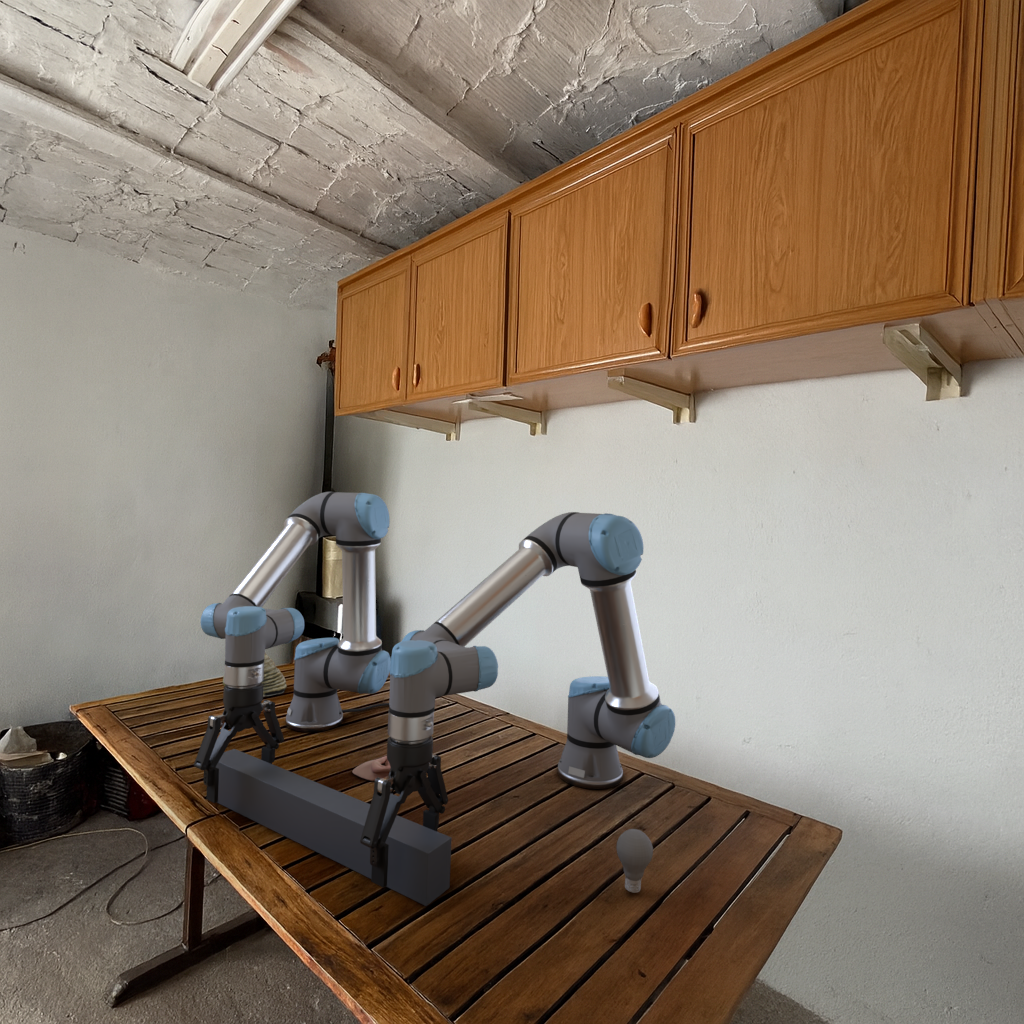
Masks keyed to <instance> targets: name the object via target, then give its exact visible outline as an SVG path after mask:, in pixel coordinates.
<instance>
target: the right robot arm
mask: <svg viewBox="0 0 1024 1024" xmlns="http://www.w3.org/2000/svg"><path fill="white" fill-rule="evenodd" d="M644 547H645V546H644V541H643V536H642V534H641V531H640V529H639V528H638V527H637V525H636V524H635V523H634V522H633V521H632V520H630V519H629V518H627V517H625V516H624V515H623V516H622V515H617V514H614V513H607V512H606V513H596V512H595V513H591V512H578V511H570V512H564V513H561V514H558V515H555V516H554V517H552V518H551V519H549V520H547V521H546V522H544V523H542V524H541V525H539V526H538V527H537V528H535V529H534V530H533V531H531V532H530V533H529V534H528V535H527V536H525V537H524V538H523V539H522V540H521V541H520V542H519V543H518V550H517V551H515V553H513V554H512V555H511V556H509V557H508V558H507V559H506V560H505V561H504V562H503V563H501V565H499V566H498V567H497V568H496V569H495V570H493V571H492V572H491V573H489V574H488V576H487V577H485V578H484V579H483V580H482V581H481V582H480V583H478V584H477V585H476V586H475V587H474V588H473V589H471V590H470V591H469V592H468V593H467V594H466V595H464V596H463V597H462V598H461V599H460V600H459V601H458V602H456V603H455V604H454V605H453V606H452V607H451V608H450V609H448V610H447V611H445V613H443V615H442V616H441V617H439V618H438V619H437V620H436V621H434V622H433V623H432V624H431V625H430V626H429V627H428V628H426V629H425V630H424V629H423V630H421V629H418V630H417V629H416V630H412V631H410V632H408V633H406V635H405V636H404V637H403V638H402V640H401V641H400V642H398V643H396V644H394V646H393V647H392V650H391V656H390V658H391V664H390V670H389V698H388V699H389V700H388V703H389V705H390V706H388V718H387V735H388V738H387V743H386V756H387V760H388V761H389V764H390V767H391V768H390V772H389V775H388V777H386V778H383V779H382V778H379V777H377V778H376V779H375V781H374V782H373V794H372V797H371V801H370V803H369V804H370V808H369V811H368V815H367V818H366V822H365V825H364V829H363V832H362V836H361V839H360V843H361V844H363V845H365V846H367V847H370V864H371V865H372V874H371V879H370V881H371V883H373V884H375V885H378V886H379V887H381V888H383V889H384V888H386V886H387V872H388V848H389V845H388V844H386V843H385V842H386V839H387V837H388V835H389V832H390V830H391V828H392V825H393V823H394V820H395V818H396V816H397V815H398V813H399V811H400V808H401V806H402V805H403V804H405V803H406V800H407V798H408V797H409V796H410V795H411V794H413V793H415V792H417V794H418V795H419V797H420V798H421V800H422V801H423V803H424V805H425V807H426V808H427V809H425V810H423V812H422V813H423V814H422V826H425V827H427V828H429V829H432V830H434V831H437V832H438V830H439V826H440V814H441V815H443V814H445V811H446V807H445V806H443V805H448V803H449V797H448V792H447V789H446V785H445V784H446V783H445V779H444V776H443V772H442V768H441V767H442V757H441V756H440V755H437V754H434V737H433V736H432V735H434V725H435V724H434V722H435V721H434V720H435V709H436V707H435V706H436V698H441V697H446V696H453V695H458V694H465V693H470V692H479V691H481V690H485V689H488V688H491V687H492V686H494V684H495V683H496V681H497V679H498V675H499V663H498V659H497V656H496V654H495V652H494V651H493V650H492V648H490V647H489V646H486V645H480V646H479V645H478V646H477V645H473V646H468V647H467V645H468V644H469V643H471V642H472V641H473V640H474V639H475V638H476V637H477V636H478V635H479V634H481V632H483V631H484V630H485V629H486V628H487V627H488V626H489V625H490V624H492V623H493V621H495V620H496V619H497V618H498V617H499V616H500V615H501V614H502V613H503V612H505V611H506V610H507V609H508V608H509V607H510V606H511V605H512V604H513V603H515V602H516V601H517V600H518V599H519V598H521V596H523V594H524V593H525V592H526V591H527V590H529V589H530V588H531V587H532V586H533V585H534V584H535V583H536V582H538V581H539V580H540V579H541V578H542V577H549V576H551V575H552V574H553V573H554V572H555V571H557V570H558V569H561V568H563V567H574V568H577V570H578V575H579V579H580V583H581V585H582V586H583V587H585V588H586V589H589V592H590V598H591V602H592V607H593V612H594V616H595V622H596V626H597V627H596V628H597V632H598V636H599V637H598V638H599V641H600V646H601V650H602V651H601V652H602V655H603V659H604V666H605V670H606V676H601V675H593V676H591V675H589V676H582V677H577V678H574V679H573V680H572V681H571V682H570V683H569V691H568V695H567V724H566V727H567V730H566V732H567V733H566V742H565V744H564V747H563V749H562V753H561V756H560V758H559V759H558V763H557V775H558V777H559V778H560V779H561V780H563V782H566V783H567V784H568V785H572V786H574V787H577V788H583V789H589V790H607V789H611V788H615V787H617V786H618V785H620V784H621V783H622V781H623V775H624V770H623V769H624V768H623V766H622V764H621V762H620V761H621V760H620V755H619V752H618V747H619V748H621V749H623V750H625V751H627V752H629V753H631V754H633V755H635V756H640V757H643V758H646V759H653V758H657V757H658V756H659V755H661V754H662V753H663V752H664V751H665V750H666V749H667V748H668V746H669V745H670V743H671V740H672V739H673V738H674V737H673V736H674V734H675V728H676V716H675V712H674V710H673V709H672V708H670V707H669V706H668V705H667V704H662V702H661V697H660V692H659V691H660V690H659V688H658V687H657V685H656V684H654V683H653V682H651V681H650V678H649V672H648V666H647V661H646V657H645V656H646V655H645V650H644V645H643V641H642V635H641V630H640V629H641V628H640V625H639V620H638V619H639V618H638V614H637V609H636V604H635V598H634V592H633V588H632V581H633V580H634V579H635V577H636V575H637V569H638V568H639V566H640V564H641V563H642V560H643V559H642V556H644ZM394 792H395V793H396V794H398V795H396V794H394ZM379 835H380V838H379Z"/></svg>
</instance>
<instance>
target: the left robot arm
mask: <svg viewBox="0 0 1024 1024" xmlns="http://www.w3.org/2000/svg"><path fill="white" fill-rule="evenodd" d="M390 522H391V521H390V513H389V509H388V506H387V504H386V502H385V500H384V499H383V498H382V497H381V496H379V495H377V494H375V493H374V494H373V493H367V492H343V491H342V492H341V491H339V492H338V491H337V492H336V491H325V492H320V493H318V494H315V495H314V496H311V497H310V498H308V499H307V500H305V501H304V502H302V503H301V504H300V505H298V506H297V507H296V508H295V509H294V510H293V511H292V512H291V513H290V514H289V515H288V516H287V517H286V519H285V520H284V522H283V529H282V530H281V531H280V533H279V534H278V535H277V536H276V538H275V539H274V540H273V541H272V542H271V544H270V545H269V546H268V547H267V549H266V550H265V551H264V552H263V554H261V556H260V557H259V558H258V560H257V561H256V562H255V563H254V565H252V567H251V568H250V569H249V571H248V572H247V573H246V574H245V575H244V577H243V578H242V579H241V581H240V582H239V583H238V584H237V585H236V587H235V588H234V589H233V591H232V592H231V593H230V594H229V596H228V597H227V598H226V599H225V600H224V602H217V603H216V602H215V603H211V604H209V605H207V606H206V607H205V608H204V610H203V611H202V613H201V615H200V627H201V630H202V632H203V633H204V634H205V635H207V636H209V637H211V638H212V637H213V638H217V639H221V640H225V643H224V644H225V647H224V654H225V655H224V667H223V675H224V676H223V677H224V683H225V684H226V685H225V687H224V686H223V693H222V694H223V697H222V703H223V707H224V708H223V712H222V713H221V714H219V715H218V714H217V715H213V714H210V715H209V716H208V718H207V728H206V729H205V733H204V736H203V738H202V741H201V744H200V747H199V749H198V752H197V755H196V758H195V760H194V763H193V767H194V768H196V769H198V770H200V771H203V780H202V781H203V785H204V786H205V787H206V793H205V794H206V796H205V797H206V798H205V799H206V800H207V801H209V802H211V803H213V804H216V803H217V802H218V786H219V769H218V768H216V765H217V764H218V762H219V760H220V758H221V757H222V755H223V753H224V752H226V750H227V748H228V747H229V744H230V742H231V741H232V739H233V738H235V737H236V736H237V733H241V732H242V731H244V730H249V729H253V730H254V732H255V733H256V735H257V736H258V737H259V738H260V740H261V741H262V742H263V744H264V745H265V746H262V747H261V752H260V753H261V754H260V759H261V760H263V761H265V762H268V763H270V764H273V763H274V762H275V760H276V750H278V749H279V748H280V744H282V743H283V742H284V741H285V737H284V733H283V730H282V729H281V724H280V723H279V720H278V717H277V713H276V702H275V701H272V700H268V699H264V697H263V687H264V685H263V684H262V683H261V682H262V681H263V680H264V658H265V653H266V650H269V649H271V648H274V647H275V648H276V647H278V646H281V645H285V644H290V643H291V642H293V641H295V640H297V639H299V638H300V637H301V636H302V635H303V633H304V630H305V619H304V616H303V615H302V613H301V612H300V611H299V610H298V609H296V608H293V607H282V608H279V609H270V608H263V607H264V605H266V603H267V602H268V600H269V599H270V598H271V596H273V594H274V593H275V591H276V589H277V588H278V587H279V586H280V584H281V583H282V582H283V580H284V579H285V577H286V576H287V575H288V574H289V572H290V571H291V570H292V569H293V567H294V566H295V565H296V564H297V562H298V561H299V559H300V558H301V556H302V555H303V554H304V552H305V551H306V550H307V549H308V547H309V546H313V545H315V544H316V543H317V542H318V541H319V539H320V538H322V537H324V536H335V545H336V546H337V548H339V550H341V572H342V573H341V574H342V576H341V577H342V579H341V580H342V626H343V627H342V628H343V633H342V636H343V638H342V639H341V640H340V639H339V638H337V637H321V638H313V639H307V640H304V641H302V642H299V643H298V644H297V645H296V647H295V652H294V653H295V654H294V658H293V660H294V672H293V673H294V674H293V695H292V696H293V697H292V699H291V702H290V704H289V706H288V709H287V711H286V712H287V713H286V715H285V726H286V728H287V729H289V730H291V731H294V732H295V731H296V732H301V733H316V732H325V731H329V730H332V729H335V728H337V727H339V726H340V725H342V723H343V722H344V713H357V712H363V711H367V710H370V709H375V708H379V707H389V706H390V705H389V702H383V703H376V704H372V705H367V706H365V707H361V708H345V709H342V706H341V702H340V699H339V695H338V691H345V692H351V693H357V694H359V695H362V694H368V695H373V694H376V693H378V692H379V691H380V690H381V689H382V688H383V687H384V685H385V683H386V681H387V679H388V677H389V675H390V673H389V670H390V664H391V656H390V655H391V654H390V653H389V652H388V651H386V650H384V649H383V642H382V641H383V640H382V639H380V638H379V637H378V636H377V610H376V609H377V603H376V602H377V601H376V600H377V599H376V597H377V595H376V593H377V592H376V589H377V588H376V587H377V586H376V584H377V583H376V549H377V548H378V547H379V546H380V545H381V544H382V540H381V539H383V538H384V537H386V536H387V534H388V532H389V528H390ZM262 712H263V716H264V719H265V722H266V725H267V727H265V724H264V722H263V721H262V719H261V718H260V716H261V714H262ZM267 728H268V729H267ZM229 729H230V730H229Z"/></svg>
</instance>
